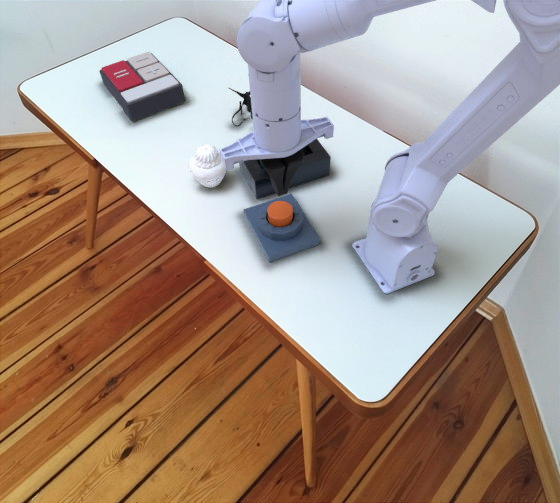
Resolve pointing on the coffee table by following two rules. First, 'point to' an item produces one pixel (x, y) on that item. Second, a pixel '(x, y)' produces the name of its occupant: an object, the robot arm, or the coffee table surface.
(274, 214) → the power button
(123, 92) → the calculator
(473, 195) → the coffee table surface
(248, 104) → the creature
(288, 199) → the station
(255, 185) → the holder
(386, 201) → the robot arm
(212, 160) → the white rounded ridged piece
